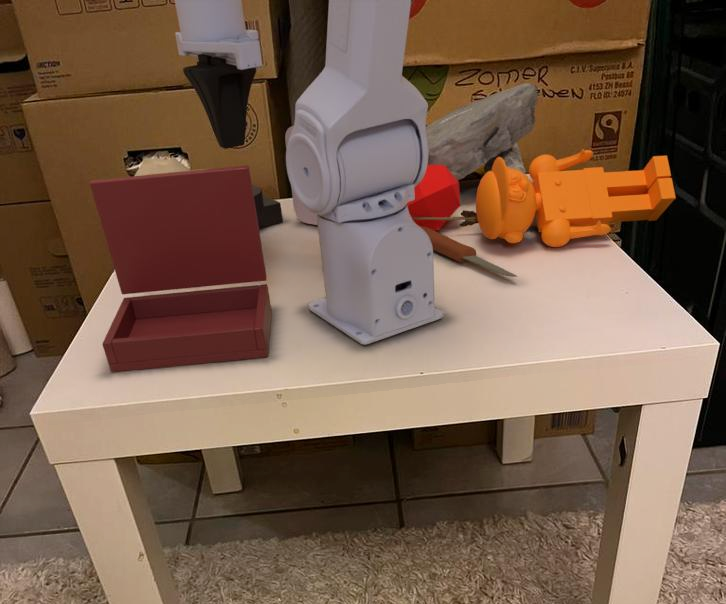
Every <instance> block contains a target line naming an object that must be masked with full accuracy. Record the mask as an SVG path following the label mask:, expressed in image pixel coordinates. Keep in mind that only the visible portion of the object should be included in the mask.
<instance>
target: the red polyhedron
mask: <svg viewBox="0 0 726 604" xmlns="http://www.w3.org/2000/svg"><path fill="white" fill-rule="evenodd" d="M414 191H415V199H414V200H413V201H410V202H408V203H407V206H408V210H409V214H410V216H411V217H426V218H427V217H433V218H440V217H452V216H453V214H454V213H455V212H456V211H457V210H458V209H459V207H460V206H461V196H460V195H461V193H460V182H459V180H458V181H457V179H456V178H455V177H454V176H453V175H452V174H451V172H450V171H449V170H448V169H447V168H446V166H445V165H427V169H426V172H425V175H424V177H423V179H422V181H421V182H420V183H419V184H418V185H417V186H415V187H414ZM413 221H414V222H415V223H416V224H417V225H418V226H422V227H426V228H429V229H432V230H434V231H439V230H441V228H442V227H443V226H444V225H445V224H446V222H447V221H448V220H419V219H413Z"/></svg>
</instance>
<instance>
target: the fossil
mask: <svg viewBox="0 0 726 604" xmlns="http://www.w3.org/2000/svg"><path fill="white" fill-rule="evenodd" d="M497 157H502V159H503V160H504V161H505V164H506V166H507V167H509V168H511V169H516V170H519V171H520V172H522V173H523V174H524V175H526V176H527V177H528V178H529V176H528V175H527V174H526V173H527V171H526V167H525V166H524V161H523V158H522V155H521V150H520V149H519V144H518V142H517V143H515V144H514V145H513V146H512V147H511V148H510V149H508V150H507V151H503V152H501V153H499V154H498V155H497V156H496V157H494V158H492V159H489V160H488V161H487V162H486V164H484V165H483V171H484V175H485V174H486V173H487V172H489V171H492V167H493V164H494V161H495V160H496V159H497ZM484 175H483V176H484ZM478 187H479V185H478ZM478 187H477V188H476V191H477V190H478Z"/></svg>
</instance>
